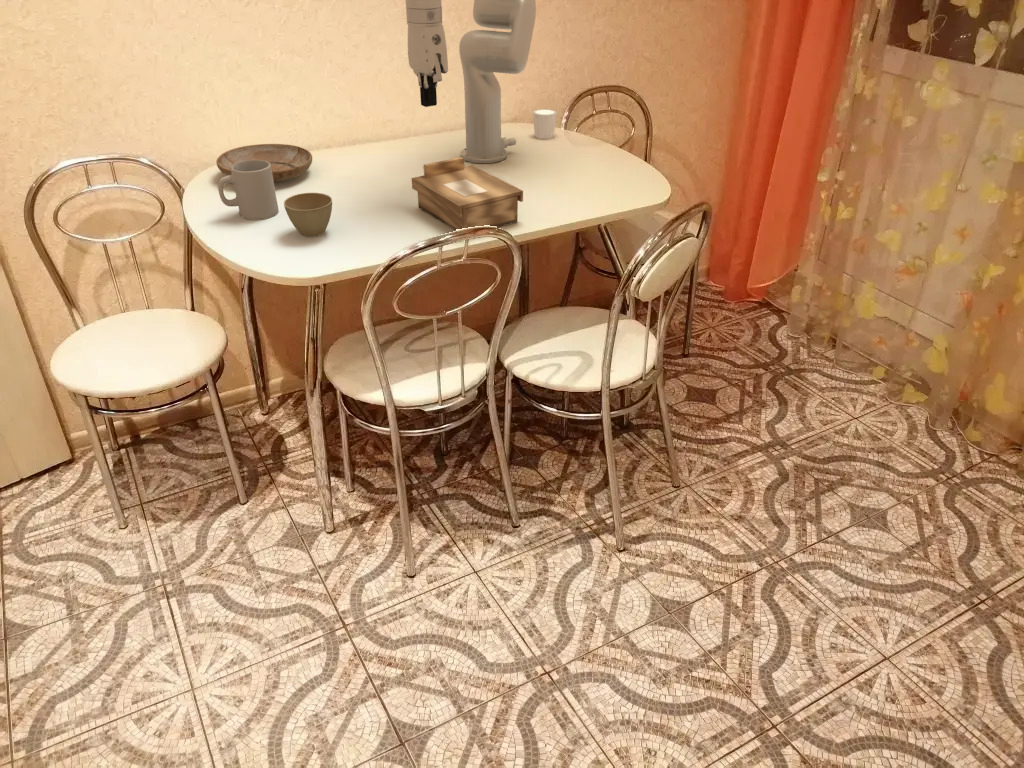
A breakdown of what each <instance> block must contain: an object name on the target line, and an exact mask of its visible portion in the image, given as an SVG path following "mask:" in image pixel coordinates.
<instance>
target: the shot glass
mask: <svg viewBox="0 0 1024 768" xmlns="http://www.w3.org/2000/svg"><path fill="white" fill-rule="evenodd" d="M557 112H558V111H556V110H553V109H548V108H544V109H542V108H541V109H535V110H533V111H532V117H533V118H532V119H533V131H534V133H533V134H534V138H536V139H539V140H551V139H553V138H554V137H555V131H556V130H555V129H556V121H557Z"/></svg>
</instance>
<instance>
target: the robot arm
mask: <svg viewBox="0 0 1024 768" xmlns="http://www.w3.org/2000/svg"><path fill="white" fill-rule="evenodd" d="M405 10H406V11H405V13H406V14H405V15H406V24H407V58H408V64H409V68H411V69H412V70H413V73H414V75H416V77H417V80H418V81H417V82H418V86H419V93H420V94H419V95H420V96H419V97H420V105H421V106H423V107H424V108H427V107H434V106H437V105H438V102H437V101H438V98H437V97H438V96H437V87H438V82H442V81H443V76H442V74H447V73H448V72H449V59H448V50H447V49H448V48H447V40H446V34H445V28H444V25H443V6H442V0H405ZM536 16H537V5H536V0H474V1H473V8H472V17H473V20H474V23H475V24H477V25H478V26H480V27H483V28H487V30H486V29H474V30H470V31H467V32H466V33H464V34H463V36H461V38H460V41H459V47H458V49H459V52H458V53H459V58H460V62H461V67H462V74H463V75H462V77H463V86H464V91H463V92H464V113H465V114H464V115H465V116H464V120H465V148H463V149H462V150H461V151H460V157H462V158H464V161H466V162H469V163H473V164H491V163H492V164H493V163H498V162H500V161H501V162H502V161H504V160H505V159H507V157H508V152H507V150H506V148H507V147H513V146H515V145H517V139H516V138H515V137H512V138H507V137H502V89H501V86H500V83H499V81H498V78H497V76H496V75H495V73H498V74H499V73H500V74H507V75H508V74H509V75H510V74H512V75H518V74H521V73H522V72H523V71H524V70H525V69H526V66H527V63H528V59H529V54H530V49H531V43H532V39H533V33H534V27H535V23H536ZM488 29H495V30H488ZM496 30H510V31H496Z"/></svg>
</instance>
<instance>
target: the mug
mask: <svg viewBox="0 0 1024 768" xmlns="http://www.w3.org/2000/svg"><path fill="white" fill-rule="evenodd" d="M231 172H232V174H231V175H228V176H226V175H224V176H223V177H220V179H219V180H218V185H217V186H218V194H219V197H220V200H221V202H222V204H223V205H225V206H226V207H238V213H239V215H240V217H241V218H243V219H246V220H248V221H250V220H251V221H260V220H266V219H270V218H273V217H275V216H276V215H278V213H279V205H278V201H277V194H276V188H275V183H274V182H273V176H272V170H271V165H270V163H269V162H267V161H264V160H246V161H241V162H238V163H235V164H234V165H232V167H231ZM226 184H233V187H234V191H235V198H232V199H229V198H227V197H226V196H225V194H224V187H225V186H224V185H226Z"/></svg>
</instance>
